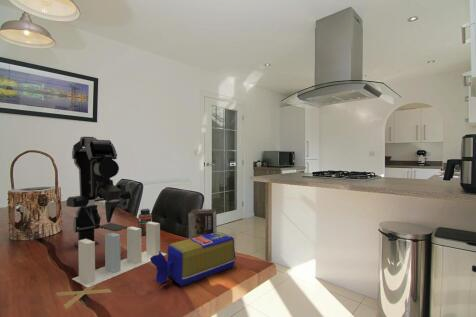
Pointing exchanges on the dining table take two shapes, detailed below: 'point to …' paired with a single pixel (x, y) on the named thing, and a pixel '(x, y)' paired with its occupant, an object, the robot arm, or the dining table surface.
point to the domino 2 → (112, 252)
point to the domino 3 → (134, 245)
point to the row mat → (104, 274)
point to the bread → (195, 258)
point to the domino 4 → (152, 238)
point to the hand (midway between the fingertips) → (102, 224)
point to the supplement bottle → (144, 220)
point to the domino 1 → (86, 260)
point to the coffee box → (202, 222)
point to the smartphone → (113, 227)
